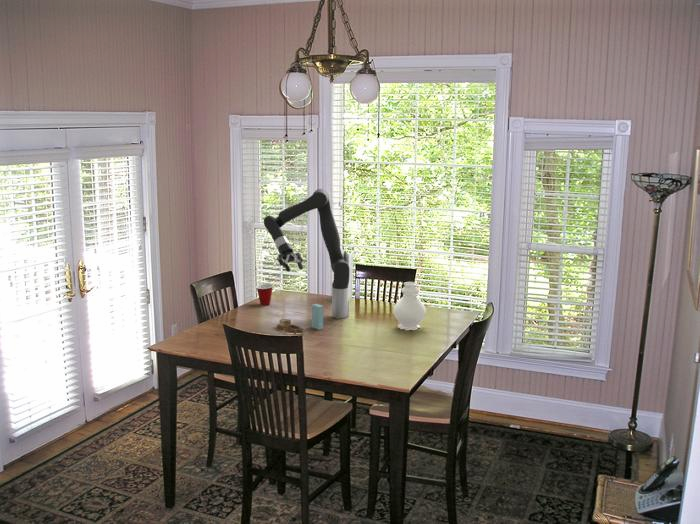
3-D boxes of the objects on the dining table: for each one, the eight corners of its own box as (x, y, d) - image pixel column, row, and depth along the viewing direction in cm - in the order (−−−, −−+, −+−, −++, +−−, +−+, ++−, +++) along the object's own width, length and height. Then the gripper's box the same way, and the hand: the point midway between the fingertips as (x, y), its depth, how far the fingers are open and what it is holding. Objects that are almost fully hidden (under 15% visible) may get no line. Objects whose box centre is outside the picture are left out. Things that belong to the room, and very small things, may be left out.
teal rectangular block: (316, 326, 393) (316, 303, 390) (322, 329, 388) (323, 306, 386) (311, 327, 391) (312, 304, 388) (318, 330, 386) (318, 306, 384)
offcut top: (286, 322, 391) (286, 318, 391) (290, 323, 389) (290, 319, 388) (279, 323, 388) (279, 319, 388) (284, 325, 385) (284, 321, 385)
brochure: (347, 301, 450) (348, 254, 444) (339, 300, 451) (340, 254, 445) (352, 296, 464) (353, 250, 458) (344, 295, 465) (344, 250, 459)
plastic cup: (254, 302, 442) (254, 283, 440) (272, 302, 445) (272, 283, 442) (256, 307, 432) (256, 287, 429) (274, 306, 434) (274, 287, 432)
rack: (291, 325, 396) (291, 319, 396) (314, 334, 381) (314, 328, 380) (270, 329, 388) (270, 324, 387) (293, 338, 372) (293, 333, 371)
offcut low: (286, 325, 392) (286, 322, 392) (291, 327, 389) (291, 323, 389) (279, 327, 389) (279, 323, 388) (283, 329, 386) (283, 325, 385)
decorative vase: (397, 321, 408) (399, 278, 403) (428, 324, 402) (430, 281, 397) (389, 329, 392) (390, 285, 387) (420, 333, 386) (422, 288, 381)
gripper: (275, 243, 393) (287, 267, 386) (296, 241, 402) (308, 264, 396) (270, 251, 398) (282, 275, 391) (291, 248, 407) (302, 272, 401)
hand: (295, 269), depth 394 cm, fingers open, 8 cm apart
